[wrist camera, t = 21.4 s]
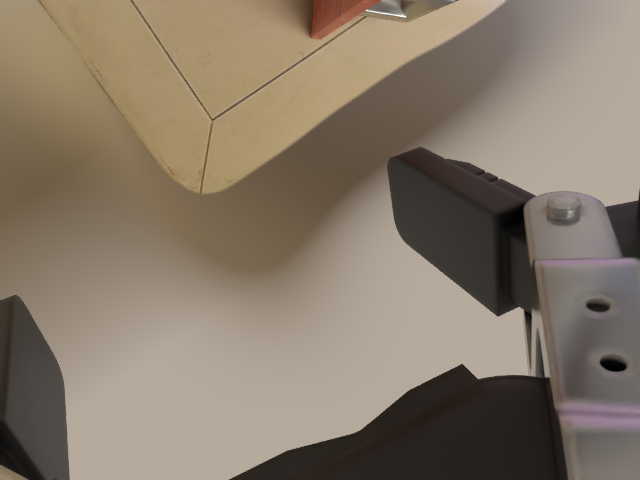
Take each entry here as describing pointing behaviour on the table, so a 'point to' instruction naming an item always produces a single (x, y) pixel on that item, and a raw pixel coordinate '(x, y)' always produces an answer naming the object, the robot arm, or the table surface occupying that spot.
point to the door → (367, 12)
